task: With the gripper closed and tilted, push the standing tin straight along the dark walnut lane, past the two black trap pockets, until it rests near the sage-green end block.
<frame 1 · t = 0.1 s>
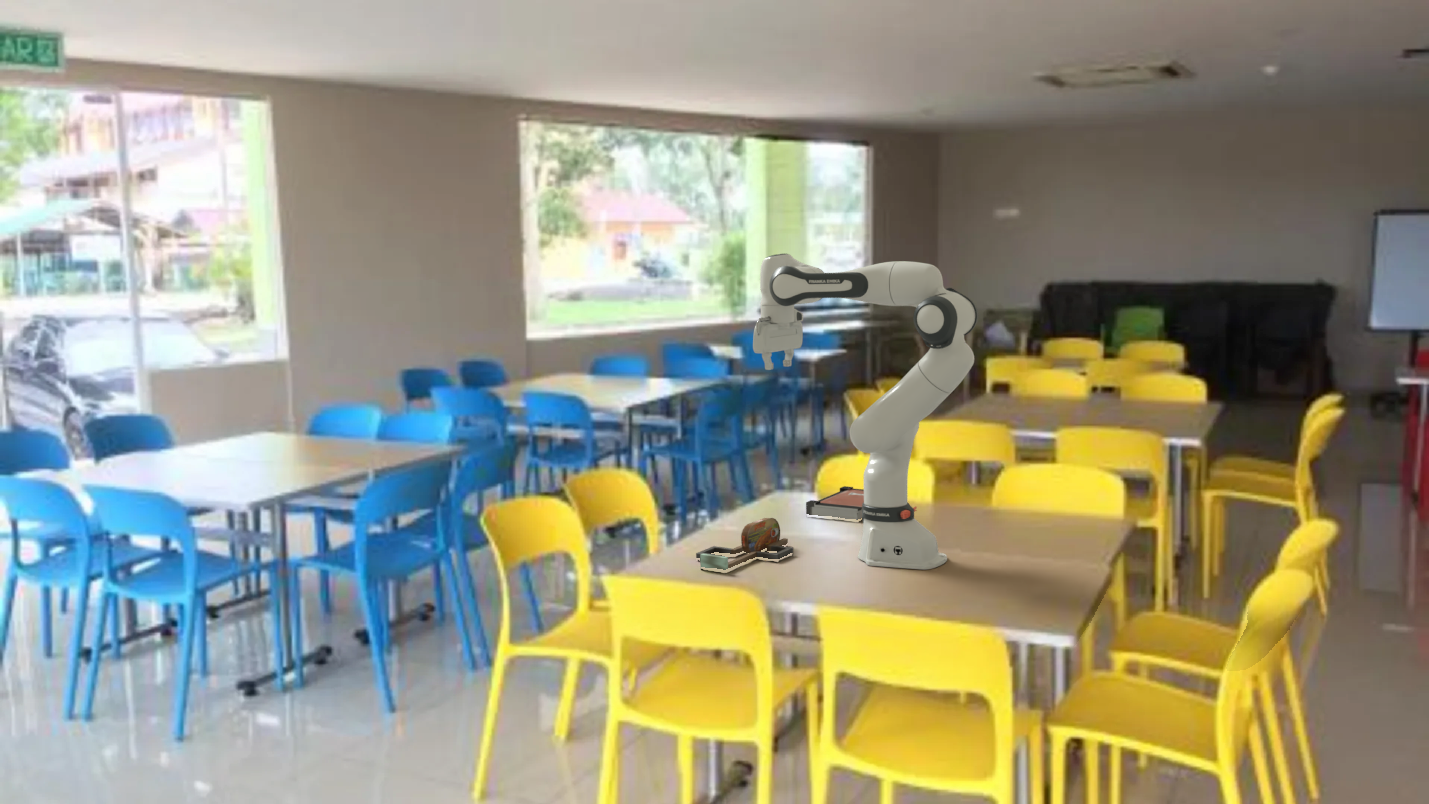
hand: (778, 368, 315), 48 cm above the table, tool pointing down, fingers open, 8 cm apart
trap lane: (747, 557, 308), on the table
tin: (760, 552, 314), resting in trap lane
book: (851, 513, 359), on the table
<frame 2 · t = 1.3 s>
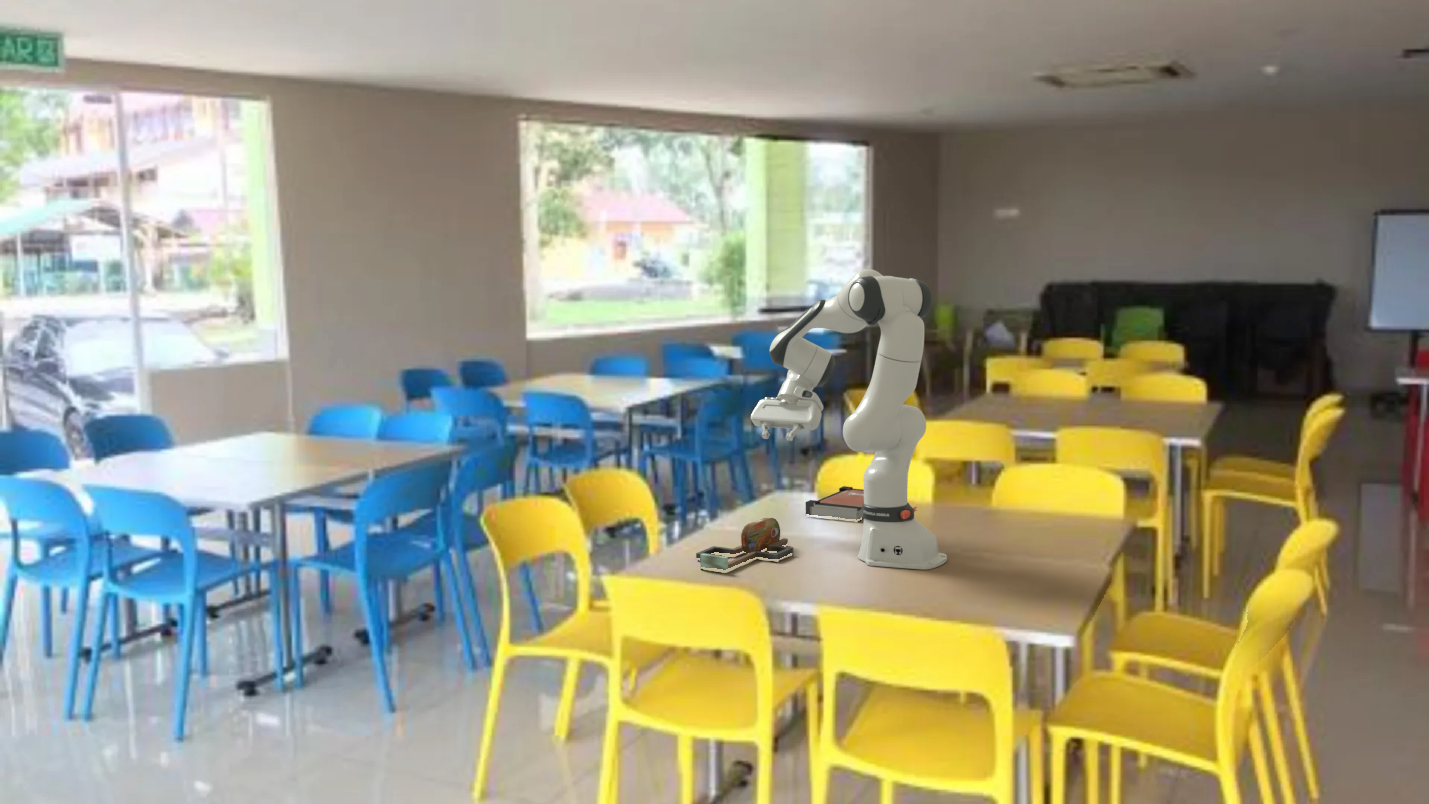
hand: (776, 438, 326), 28 cm above the table, tool tilted 45°, fingers open, 6 cm apart
nothing on the table moved.
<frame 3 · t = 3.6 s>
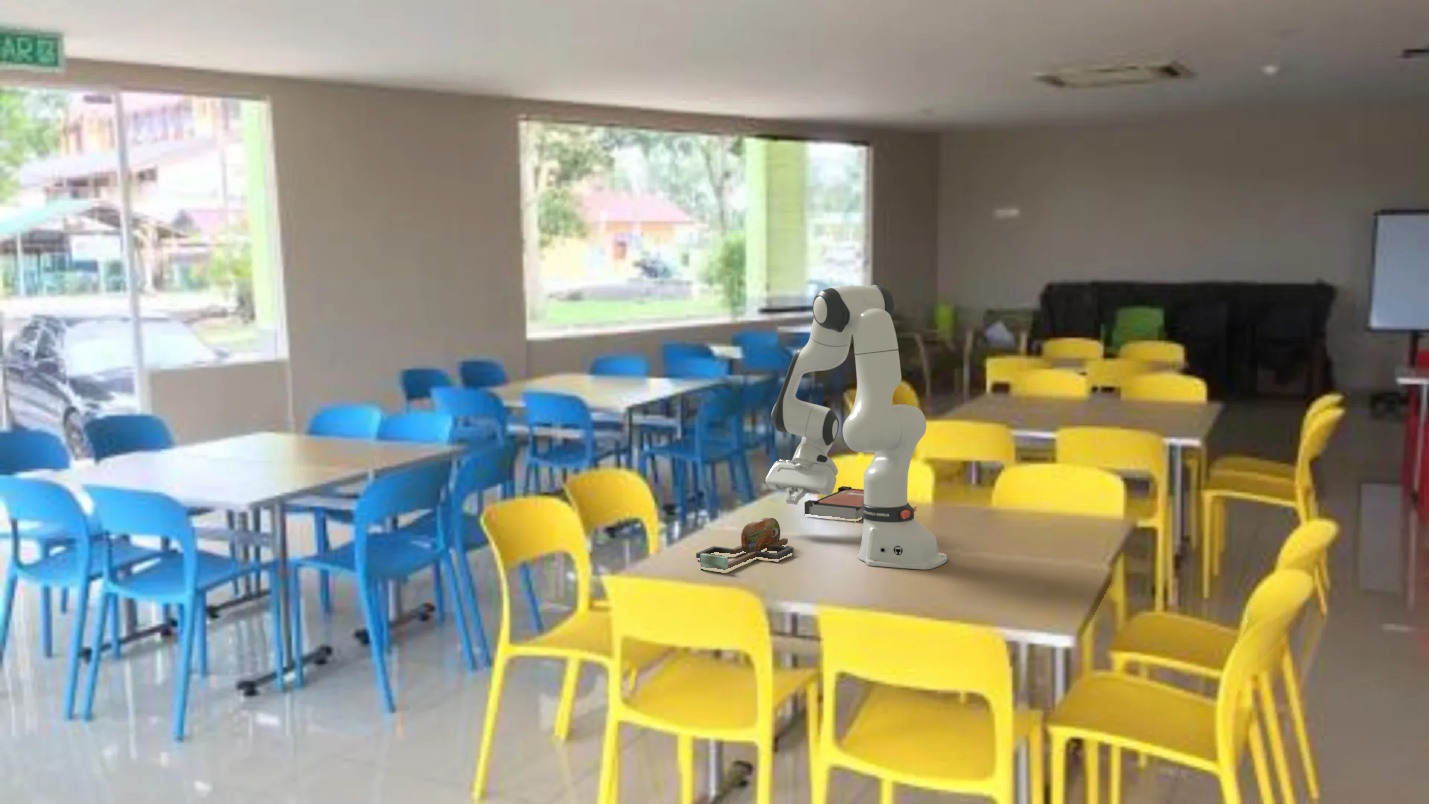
hand: (791, 503, 327), 10 cm above the table, tool tilted 45°, fingers closed
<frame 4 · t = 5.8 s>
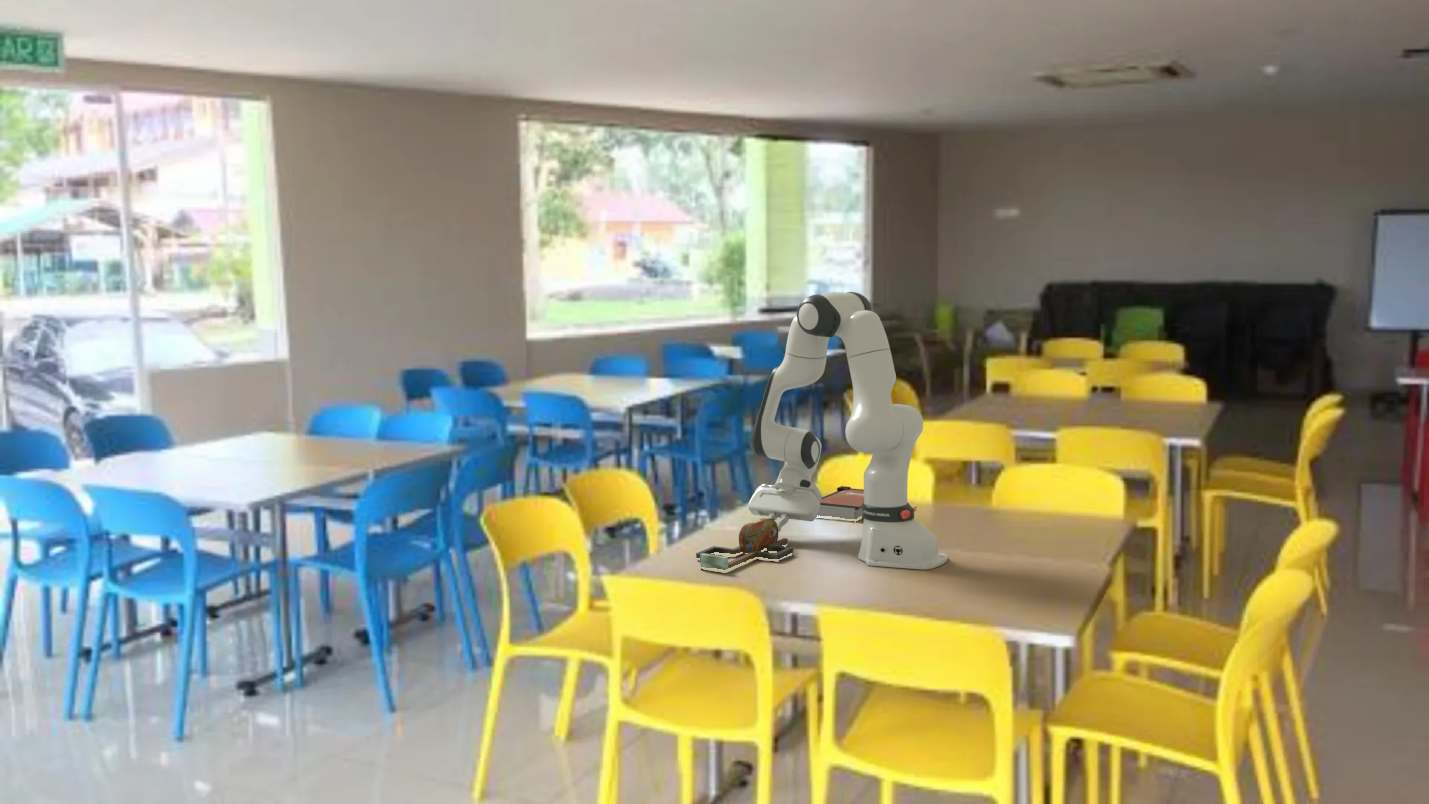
hand: (773, 529, 319), 4 cm above the table, tool tilted 45°, fingers closed, pressing on tin
tin: (758, 552, 313), resting in trap lane, touching gripper
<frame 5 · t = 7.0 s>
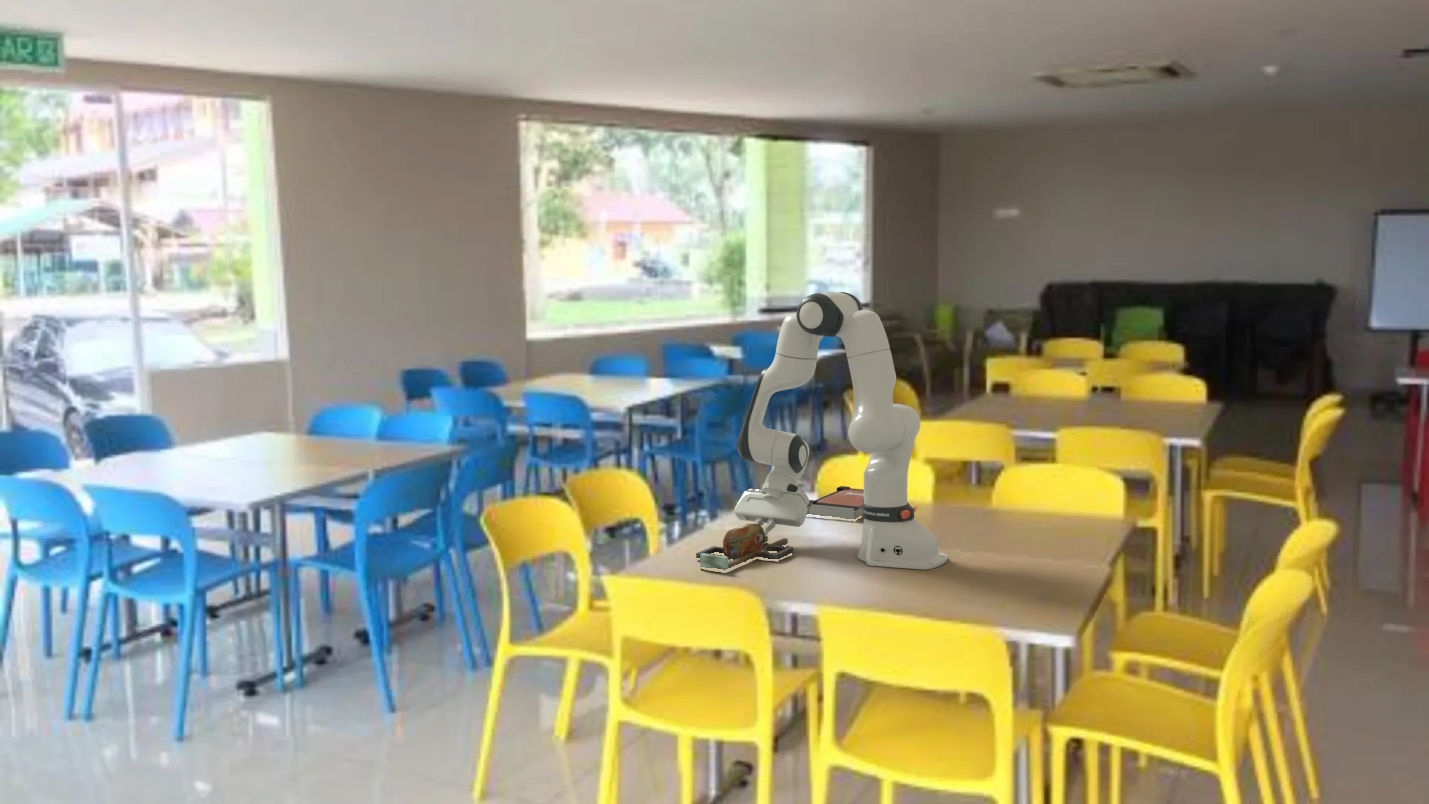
hand: (760, 534, 314), 4 cm above the table, tool tilted 45°, fingers closed, pressing on tin
tin: (744, 558, 308), resting in trap lane, touching gripper
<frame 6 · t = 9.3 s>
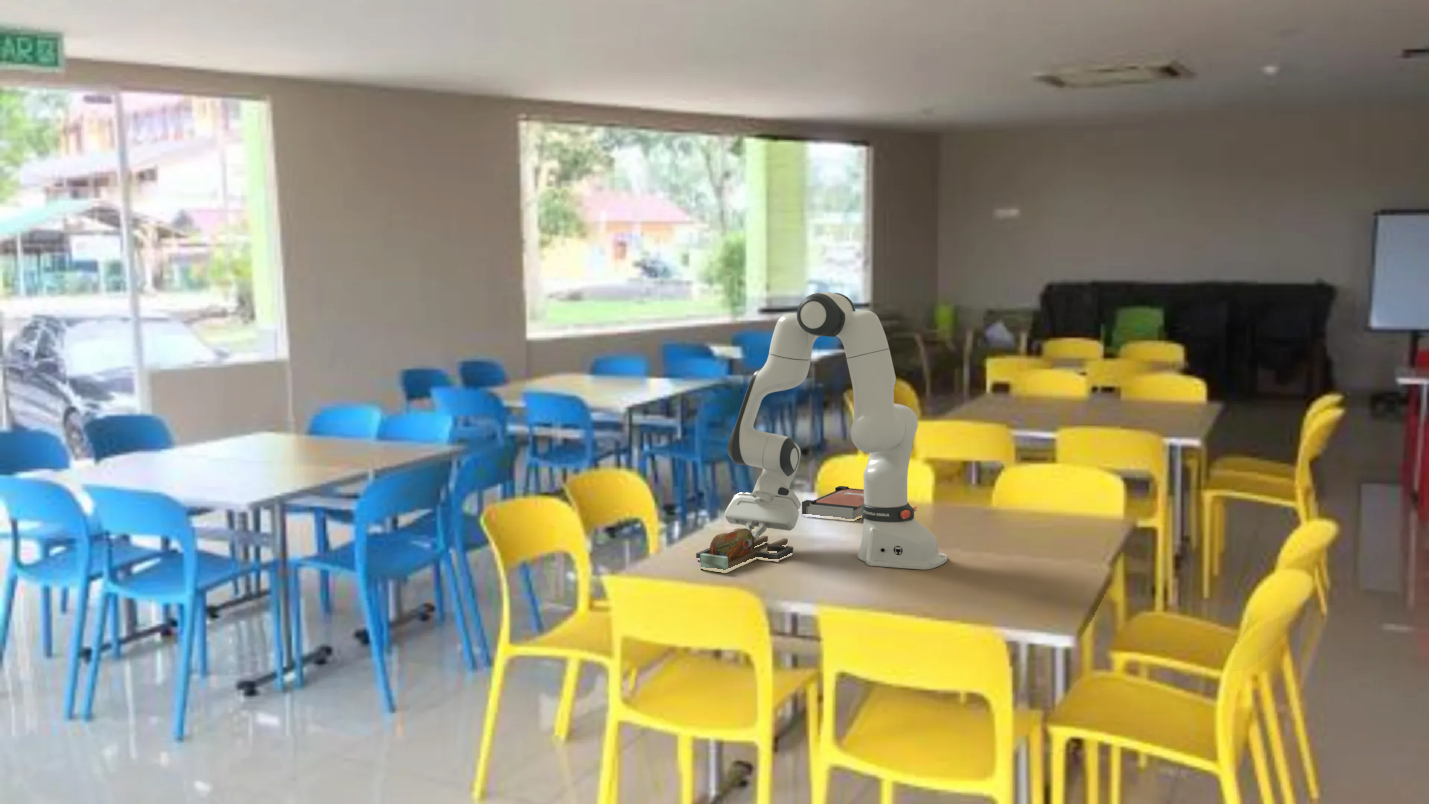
hand: (751, 538, 309), 4 cm above the table, tool tilted 45°, fingers closed
tin: (732, 563, 303), resting in trap lane
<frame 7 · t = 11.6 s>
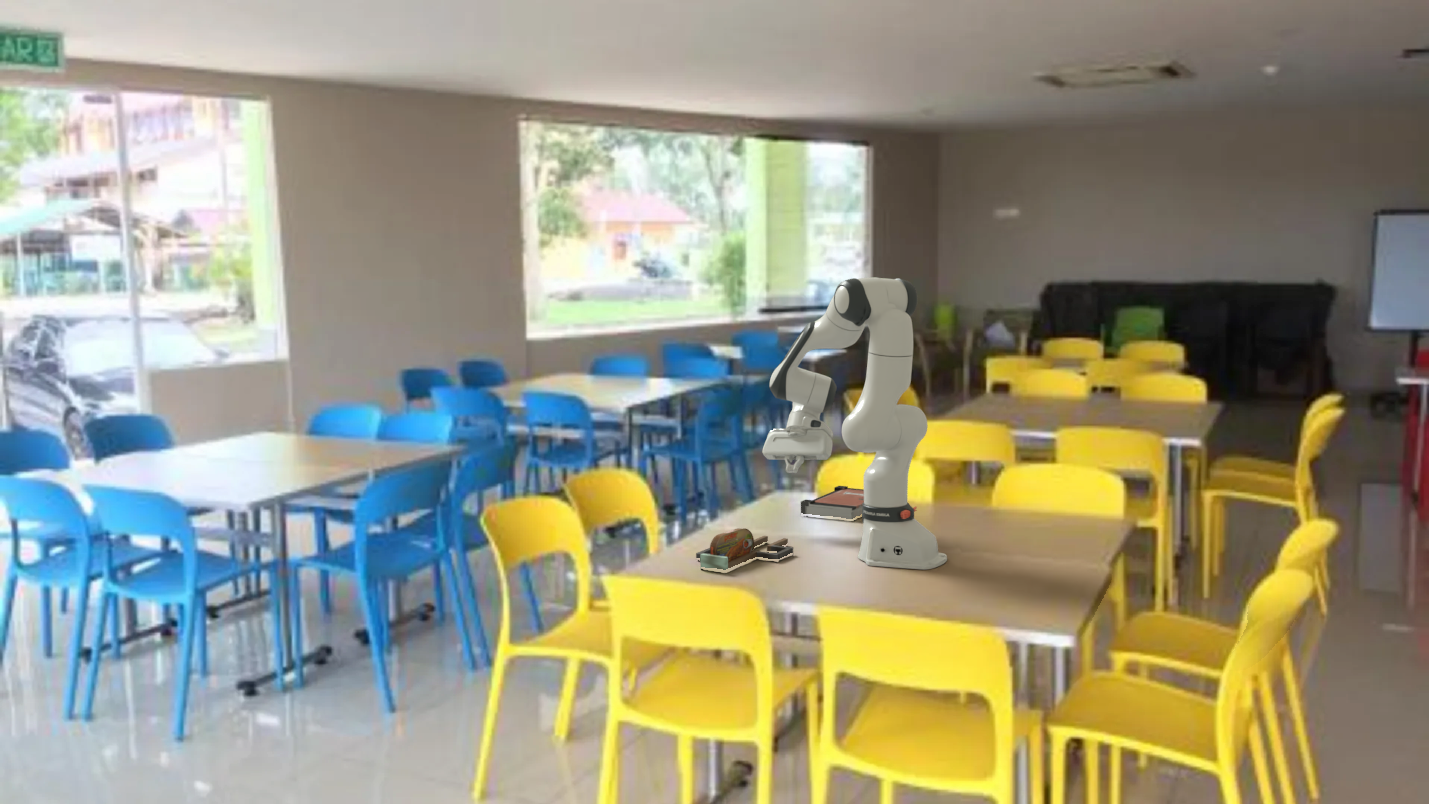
hand: (791, 471, 328), 18 cm above the table, tool tilted 40°, fingers closed
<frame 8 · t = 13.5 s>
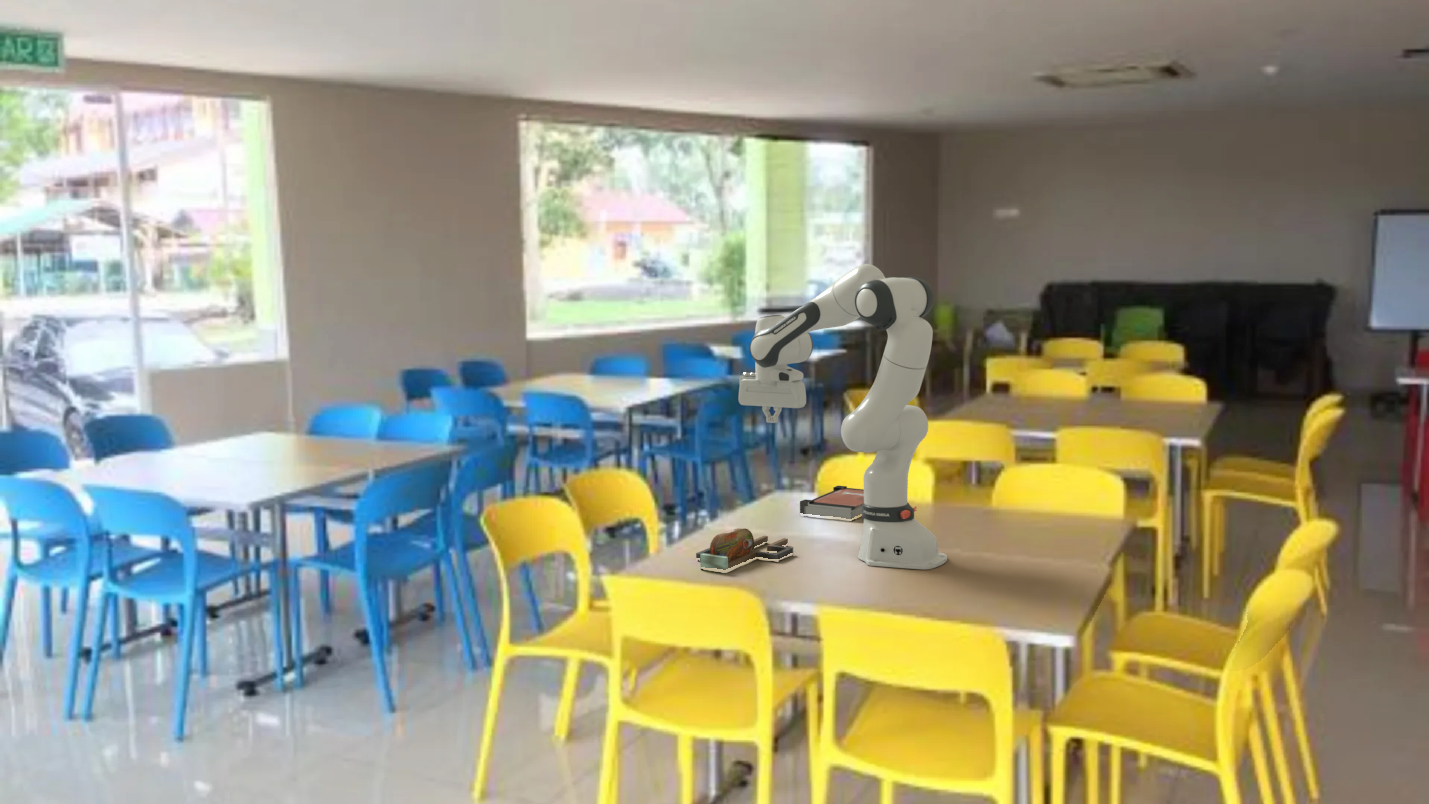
hand: (772, 422, 332), 31 cm above the table, tool pointing down, fingers closed
at the end: tin 0.7 cm from the target spot, resting in trap lane; tin tilted 0° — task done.
